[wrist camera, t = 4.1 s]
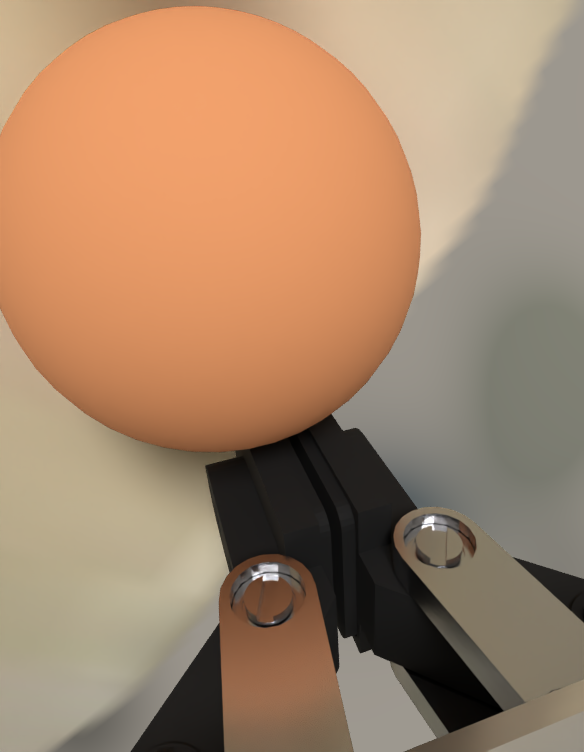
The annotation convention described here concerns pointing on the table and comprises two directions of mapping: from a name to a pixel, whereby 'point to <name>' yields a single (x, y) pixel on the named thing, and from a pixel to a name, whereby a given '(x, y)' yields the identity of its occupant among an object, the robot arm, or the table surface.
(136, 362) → the ball
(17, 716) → the table surface
